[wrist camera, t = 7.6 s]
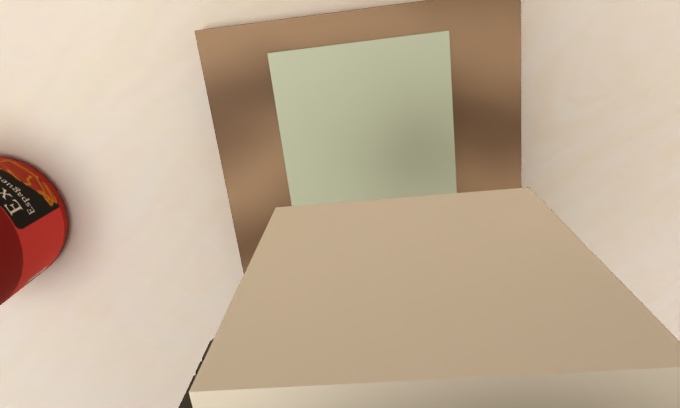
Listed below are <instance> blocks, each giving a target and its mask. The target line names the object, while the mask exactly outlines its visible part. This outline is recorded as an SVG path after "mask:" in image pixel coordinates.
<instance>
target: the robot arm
mask: <svg viewBox="0 0 680 408" xmlns="http://www.w3.org/2000/svg"><path fill="white" fill-rule="evenodd" d="M213 339H214V338H213ZM213 339H212V340H211V341H210V343H209V345H208V347H207V349H206V351H205V353H204V355H203V357H202V361H201V362H200V364H199V366H198V368H197V370H196V375H195V376H193V379H192V381H191V383H190V385H189V387H188V389H187V391H186V393H185V395H184V398H183V400H182V402H181V404H180V406H179V408H193V407H192V403H191V399H190V395H189V390H190V388H191V386H192V384H193V382H194V380H195V378H196V376H197V373H198V371H199V369H200V367H201V365H202V363H203V361H204V359H205V356H206V354H207V352H208V350H209V348H210V346H211V344H212V342H213Z"/></svg>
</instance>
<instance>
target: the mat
mask: <svg viewBox="0 0 680 408" xmlns="http://www.w3.org/2000/svg"><path fill="white" fill-rule="evenodd" d="M267 55H268V61H269V67H270V73H271V80H272V86H273V92H274V98H275V104H276V111H277V117H278V123H279V129H280V136H281V142H282V148H283V154H284V161H285V167H286V173H287V179H288V185H289V192H290V198H291V204H292V206H300V205H313V204H325V203H338V202H350V201H363V200H376V199H388V198H401V197H414V196H426V195H439V194H452V193H457V187H456V166H455V144H454V123H453V102H452V81H451V60H450V38H449V31H441V32H433V33H425V34H417V35H409V36H401V37H393V38H385V39H377V40H369V41H361V42H353V43H345V44H337V45H329V46H321V47H313V48H305V49H297V50H289V51H281V52H273V53H267Z"/></svg>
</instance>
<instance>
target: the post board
mask: <svg viewBox="0 0 680 408" xmlns="http://www.w3.org/2000/svg"><path fill="white" fill-rule="evenodd" d="M441 31H449V38H450V60H451V81H452V102H453V123H454V144H455V166H456V187H457V193H464V192H477V191H489V190H502V189H515V188H521V0H426V1H419V2H411V3H403V4H396V5H388V6H380V7H373V8H365V9H357V10H350V11H342V12H334V13H327V14H319V15H311V16H303V17H296V18H288V19H280V20H273V21H265V22H257V23H250V24H242V25H234V26H227V27H219V28H211V29H204V30H196V31H195V35H196V40H197V45H198V50H199V55H200V60H201V65H202V70H203V75H204V80H205V85H206V89H207V94H208V99H209V104H210V109H211V114H212V119H213V124H214V129H215V134H216V139H217V144H218V149H219V154H220V158H221V163H222V168H223V173H224V178H225V183H226V188H227V193H228V198H229V203H230V208H231V213H232V218H233V223H234V227H235V232H236V237H237V242H238V247H239V252H240V257H241V262H242V267H243V272H244V274H245V272H246V270H247V267H248V265H249V263H250V261H251V259H252V257H253V255H254V253H255V250H256V248H257V246H258V244H259V242H260V240H261V238H262V236H263V233H264V231H265V229H266V227H267V225H268V223H269V221H270V219H271V217H272V214H273V212H274V210H275V208H276V207H287V206H292V204H291V198H290V192H289V185H288V179H287V173H286V167H285V161H284V154H283V148H282V142H281V136H280V129H279V123H278V117H277V111H276V104H275V98H274V92H273V86H272V80H271V73H270V67H269V61H268V55H267V53H273V52H281V51H289V50H297V49H305V48H313V47H321V46H329V45H337V44H345V43H353V42H361V41H369V40H377V39H385V38H393V37H401V36H409V35H417V34H425V33H433V32H441Z"/></svg>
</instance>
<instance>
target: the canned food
mask: <svg viewBox="0 0 680 408" xmlns="http://www.w3.org/2000/svg"><path fill="white" fill-rule="evenodd" d="M67 230H68V220H67V214H66V209H65V206H64V203H63V201H62V199H61V197H60V195H59V193H58V192H57V190H56V189H55V187H54V186H53V184H52V183H51V182H50V181H49V180H48V179H47V178H46V177H45V176H44V175H43V174H41V173H40V172H39V171H37V170H36V169H35V168H33V167H31V166H29V165H27V164H25V163H23V162H21V161H18V160H14V159H11V158H4V157H0V305H1V304H2V303H4V302H5V301H6V300H7V299H9V298H10V297H11V296H13V295H14V294H15V293H16V292H18V291H19V290H20V289H21V288H23V287H24V286H25V285H27V284H28V283H29V282H30V281H32V280H33V279H34V278H36V277H37V276H38V275H39V274H41V273H42V272H43V271H44V270H46V269H47V268H48V267H49V266H50V265H52V263H53V262H54V260H55V259H56V258H57V256H58V255H59V253H60V251H61V249H62V247H63V245H64V242H65V240H66V236H67Z"/></svg>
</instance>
